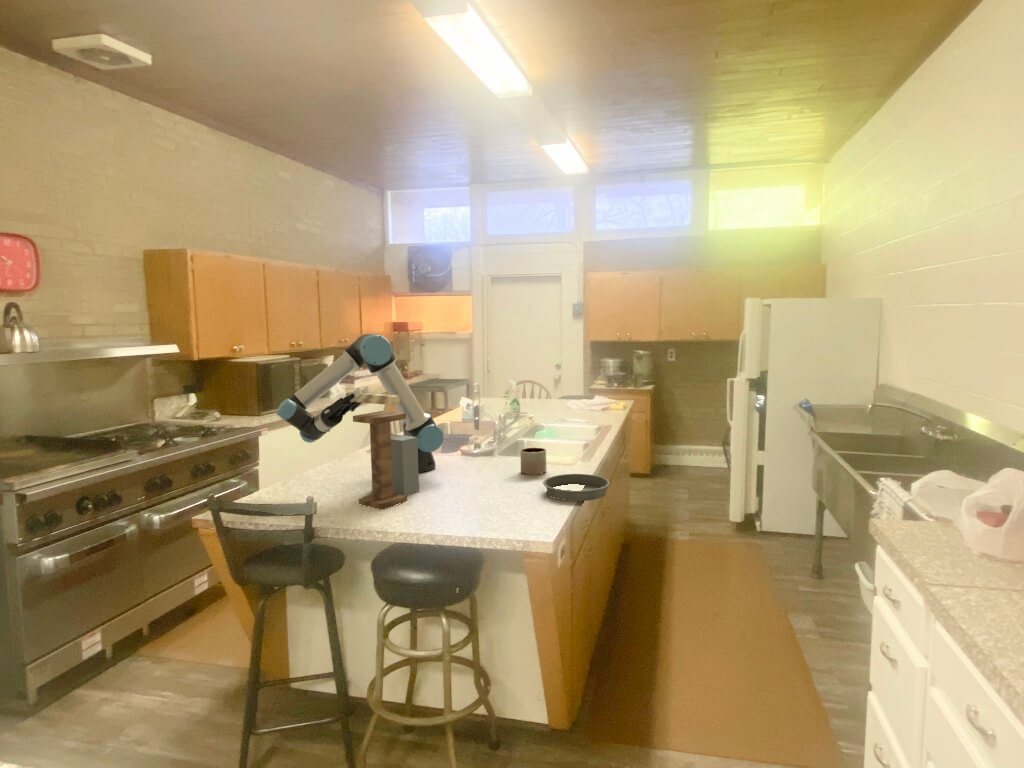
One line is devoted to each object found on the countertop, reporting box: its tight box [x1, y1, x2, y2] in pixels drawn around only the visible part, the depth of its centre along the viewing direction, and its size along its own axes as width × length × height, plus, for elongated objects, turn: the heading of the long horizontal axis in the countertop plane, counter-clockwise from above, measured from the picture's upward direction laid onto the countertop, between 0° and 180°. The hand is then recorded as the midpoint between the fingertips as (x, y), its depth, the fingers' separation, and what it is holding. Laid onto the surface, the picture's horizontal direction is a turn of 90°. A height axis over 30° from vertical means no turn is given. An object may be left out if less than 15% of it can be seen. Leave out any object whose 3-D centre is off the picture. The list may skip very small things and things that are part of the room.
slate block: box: [369, 433, 420, 496], centre depth 251 cm, size 17×8×21 cm, turn 54°
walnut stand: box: [352, 410, 408, 510], centre depth 235 cm, size 12×14×32 cm
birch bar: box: [345, 391, 399, 406], centre depth 235 cm, size 24×3×3 cm, turn 55°
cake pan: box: [542, 473, 611, 502], centre depth 245 cm, size 25×25×4 cm
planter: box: [520, 446, 547, 475], centre depth 278 cm, size 11×11×10 cm
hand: (364, 390), depth 236 cm, fingers closed on birch bar, 3 cm apart
